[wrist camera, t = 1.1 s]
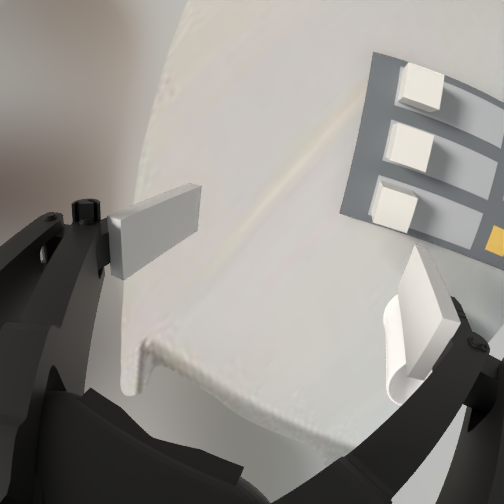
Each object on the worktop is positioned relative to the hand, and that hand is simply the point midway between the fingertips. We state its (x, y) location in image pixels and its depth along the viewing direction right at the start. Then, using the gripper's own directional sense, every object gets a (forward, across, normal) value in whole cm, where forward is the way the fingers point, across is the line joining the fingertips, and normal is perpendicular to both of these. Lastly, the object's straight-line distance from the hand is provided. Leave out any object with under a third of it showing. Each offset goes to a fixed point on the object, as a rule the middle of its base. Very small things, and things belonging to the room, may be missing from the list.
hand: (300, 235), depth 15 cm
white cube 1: (+17, +7, +12) cm, 22 cm away
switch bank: (+18, +13, +6) cm, 23 cm away
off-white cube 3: (+17, +7, 0) cm, 18 cm away
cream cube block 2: (+17, +7, +6) cm, 19 cm away
